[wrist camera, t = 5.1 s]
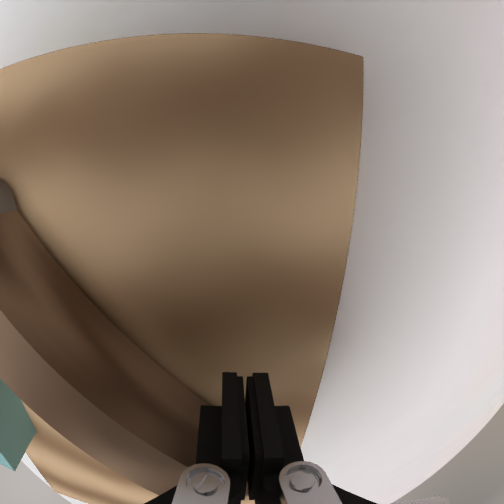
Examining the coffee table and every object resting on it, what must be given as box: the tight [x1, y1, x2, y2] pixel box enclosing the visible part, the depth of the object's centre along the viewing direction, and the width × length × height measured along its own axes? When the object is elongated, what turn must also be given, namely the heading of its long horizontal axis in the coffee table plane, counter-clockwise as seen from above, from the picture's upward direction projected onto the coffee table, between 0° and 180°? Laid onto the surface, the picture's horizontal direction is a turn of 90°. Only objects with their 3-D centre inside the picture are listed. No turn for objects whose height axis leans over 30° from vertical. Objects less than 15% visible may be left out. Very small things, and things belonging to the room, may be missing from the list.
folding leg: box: [0, 179, 248, 497], centre depth 9 cm, size 17×4×4 cm, turn 40°
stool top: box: [0, 33, 363, 504], centre depth 13 cm, size 32×20×2 cm, turn 175°
